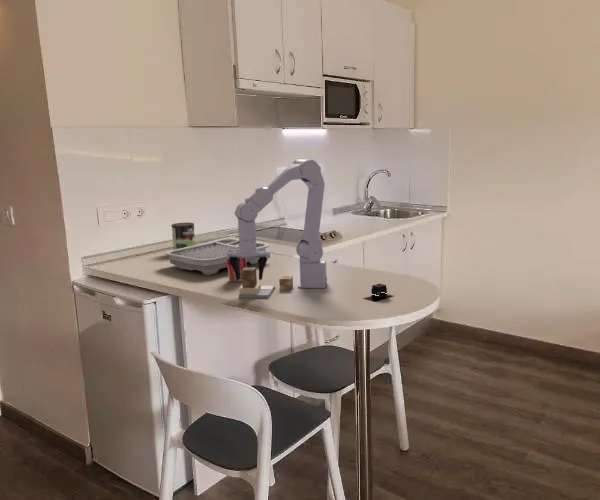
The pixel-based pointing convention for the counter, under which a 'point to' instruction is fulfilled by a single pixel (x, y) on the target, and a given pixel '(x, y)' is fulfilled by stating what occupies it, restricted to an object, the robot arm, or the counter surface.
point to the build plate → (260, 295)
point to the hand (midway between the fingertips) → (249, 279)
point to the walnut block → (249, 277)
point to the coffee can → (183, 235)
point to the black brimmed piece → (378, 293)
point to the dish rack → (208, 255)
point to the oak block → (286, 282)
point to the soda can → (231, 271)
